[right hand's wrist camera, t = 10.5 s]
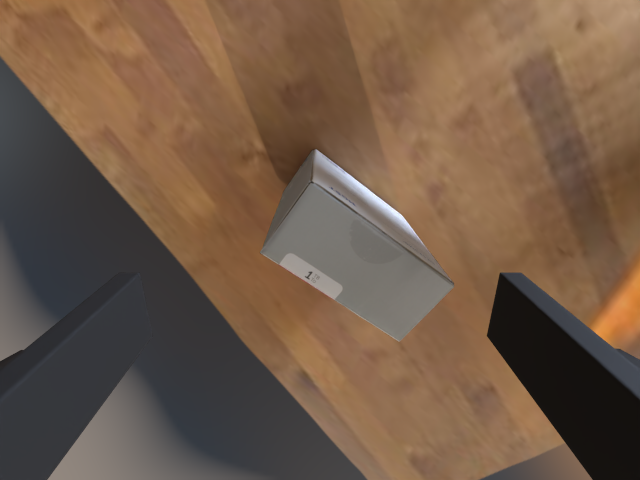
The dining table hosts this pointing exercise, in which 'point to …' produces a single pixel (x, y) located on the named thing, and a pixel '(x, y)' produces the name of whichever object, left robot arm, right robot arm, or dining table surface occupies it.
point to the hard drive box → (354, 248)
